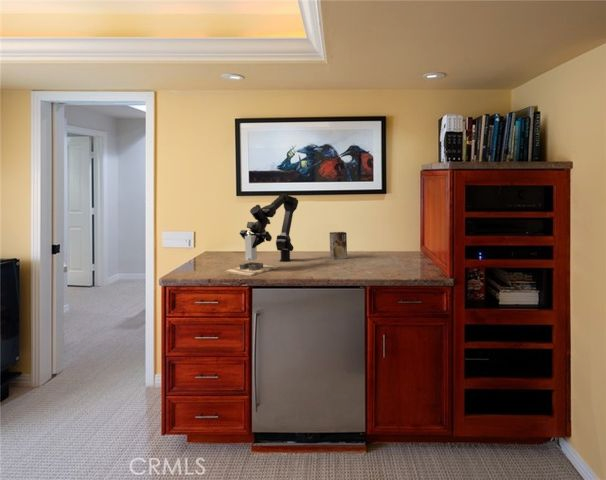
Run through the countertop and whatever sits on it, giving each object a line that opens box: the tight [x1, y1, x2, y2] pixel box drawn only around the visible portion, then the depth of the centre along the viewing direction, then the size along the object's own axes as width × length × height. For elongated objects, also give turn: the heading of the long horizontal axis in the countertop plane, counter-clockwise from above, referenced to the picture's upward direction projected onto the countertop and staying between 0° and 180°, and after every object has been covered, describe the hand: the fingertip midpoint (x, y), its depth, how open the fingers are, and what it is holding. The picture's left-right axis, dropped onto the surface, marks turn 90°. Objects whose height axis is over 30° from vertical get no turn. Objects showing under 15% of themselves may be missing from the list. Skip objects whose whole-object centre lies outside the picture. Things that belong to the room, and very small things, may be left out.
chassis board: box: [223, 261, 279, 277], centre depth 261 cm, size 24×18×4 cm
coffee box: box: [329, 231, 348, 260], centre depth 293 cm, size 9×6×16 cm
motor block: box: [244, 235, 258, 262], centre depth 258 cm, size 6×4×14 cm
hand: (249, 247), depth 258 cm, fingers closed on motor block, 4 cm apart
